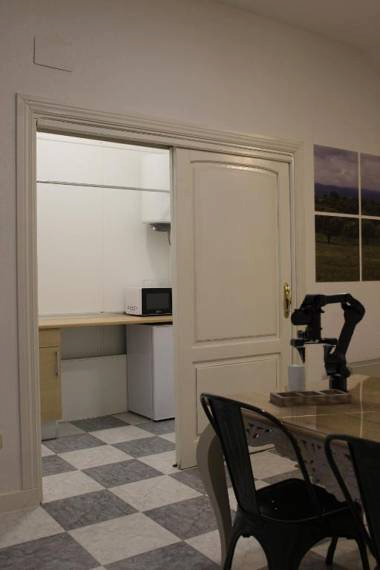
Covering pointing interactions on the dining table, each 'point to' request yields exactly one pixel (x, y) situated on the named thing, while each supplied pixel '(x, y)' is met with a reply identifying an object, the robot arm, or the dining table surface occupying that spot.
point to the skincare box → (296, 378)
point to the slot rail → (310, 397)
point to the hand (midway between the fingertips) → (314, 363)
